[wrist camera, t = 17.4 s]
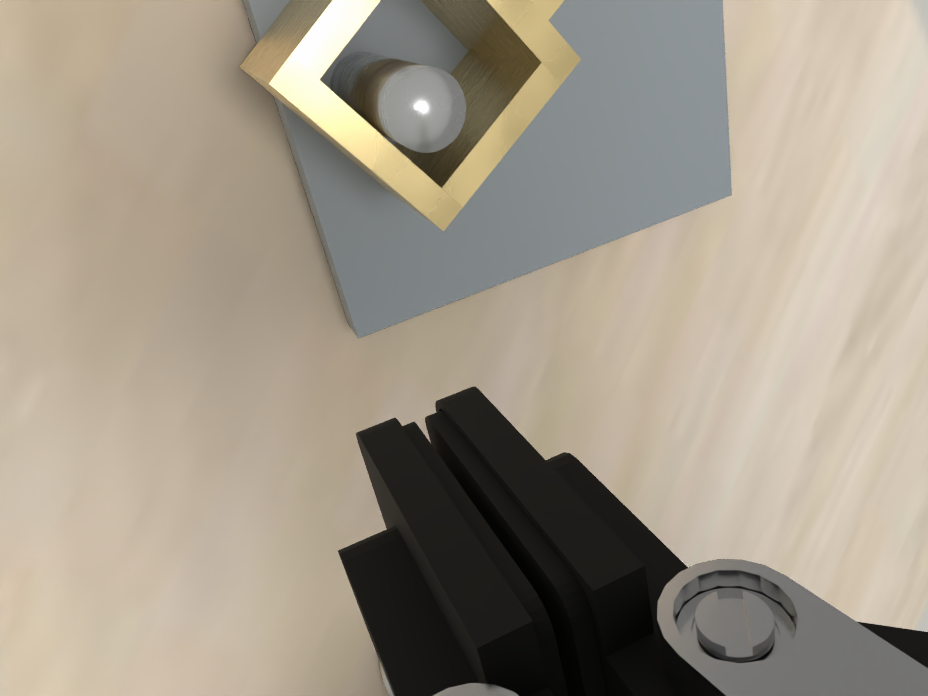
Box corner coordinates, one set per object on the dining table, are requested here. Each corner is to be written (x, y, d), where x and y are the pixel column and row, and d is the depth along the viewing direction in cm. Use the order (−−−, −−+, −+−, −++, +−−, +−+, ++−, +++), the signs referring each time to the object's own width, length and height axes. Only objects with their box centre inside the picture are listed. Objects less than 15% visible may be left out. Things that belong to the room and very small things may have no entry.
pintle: (389, 105, 30) (473, 139, 23) (331, 123, 30) (399, 163, 23) (372, 41, 29) (455, 56, 22) (312, 59, 29) (378, 80, 22)
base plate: (711, 188, 38) (731, 195, 37) (349, 325, 33) (358, 338, 32) (678, -344, 28) (705, -359, 27) (159, -253, 24) (161, -267, 22)
